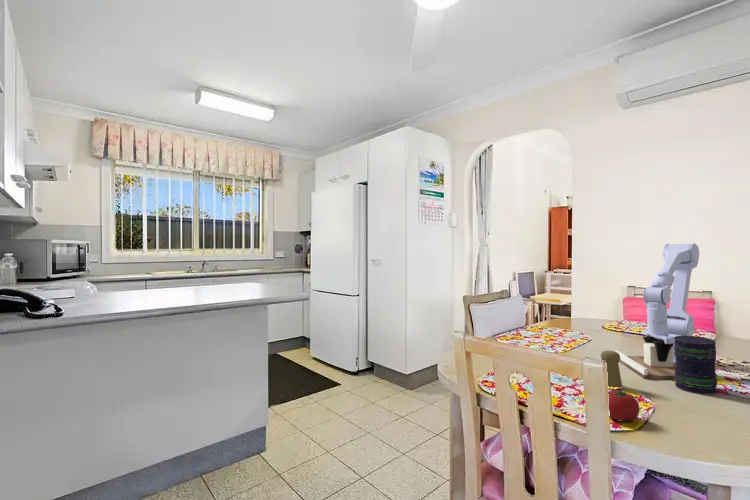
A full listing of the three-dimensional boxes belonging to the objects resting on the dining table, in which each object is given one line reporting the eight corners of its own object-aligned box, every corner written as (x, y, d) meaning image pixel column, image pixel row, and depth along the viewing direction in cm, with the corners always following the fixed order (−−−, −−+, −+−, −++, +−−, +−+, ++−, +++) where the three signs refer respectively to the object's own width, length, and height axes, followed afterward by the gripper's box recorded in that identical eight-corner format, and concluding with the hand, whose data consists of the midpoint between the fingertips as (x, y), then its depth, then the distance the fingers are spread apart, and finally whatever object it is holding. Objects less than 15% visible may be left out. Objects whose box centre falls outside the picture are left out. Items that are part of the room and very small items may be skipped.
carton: (673, 366, 132) (672, 346, 132) (650, 366, 133) (650, 346, 133) (665, 362, 136) (665, 343, 136) (643, 362, 138) (643, 342, 138)
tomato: (645, 422, 96) (645, 393, 95) (623, 428, 93) (622, 398, 93) (616, 409, 103) (615, 383, 103) (594, 414, 100) (593, 387, 100)
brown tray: (661, 359, 143) (661, 351, 143) (699, 380, 122) (699, 370, 122) (614, 358, 146) (614, 350, 146) (644, 378, 125) (643, 369, 125)
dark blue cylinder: (720, 397, 109) (719, 345, 109) (677, 391, 114) (676, 341, 114) (713, 385, 117) (712, 337, 117) (672, 380, 122) (671, 334, 122)
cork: (619, 383, 121) (618, 349, 121) (625, 390, 115) (624, 354, 115) (598, 382, 123) (597, 348, 123) (602, 388, 117) (601, 353, 117)
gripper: (634, 316, 142) (635, 353, 143) (655, 325, 128) (656, 365, 128) (655, 317, 141) (656, 353, 141) (679, 325, 127) (680, 365, 127)
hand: (658, 359), depth 135 cm, fingers closed on carton, 5 cm apart
